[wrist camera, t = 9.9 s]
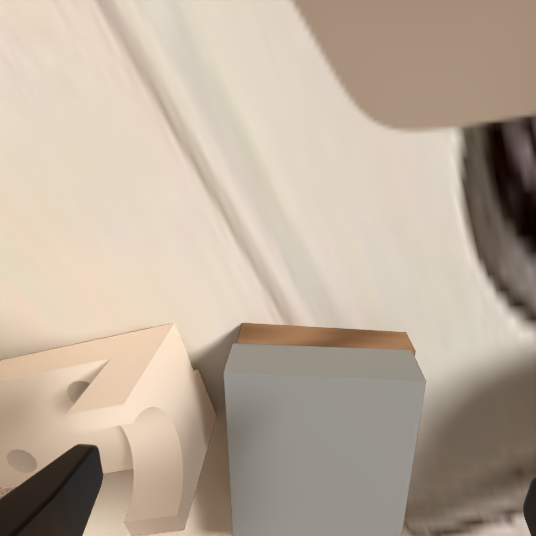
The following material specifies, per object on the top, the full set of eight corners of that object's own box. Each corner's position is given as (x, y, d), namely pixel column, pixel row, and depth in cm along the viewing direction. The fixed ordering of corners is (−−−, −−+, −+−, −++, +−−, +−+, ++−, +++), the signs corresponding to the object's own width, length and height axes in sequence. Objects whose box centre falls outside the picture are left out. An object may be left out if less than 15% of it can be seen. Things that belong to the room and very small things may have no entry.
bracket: (179, 315, 22) (124, 404, 15) (217, 413, 25) (183, 530, 18) (-13, 356, 25) (-139, 452, 17) (38, 443, 27) (-55, 559, 20)
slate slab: (411, 350, 20) (426, 381, 17) (384, 544, 24) (393, 588, 22) (232, 343, 20) (223, 372, 18) (241, 532, 25) (235, 574, 23)
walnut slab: (403, 326, 22) (415, 351, 20) (373, 506, 27) (381, 543, 25) (243, 317, 23) (237, 340, 20) (243, 495, 27) (238, 530, 25)
